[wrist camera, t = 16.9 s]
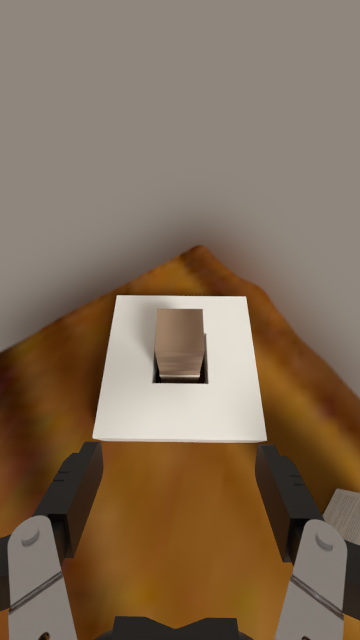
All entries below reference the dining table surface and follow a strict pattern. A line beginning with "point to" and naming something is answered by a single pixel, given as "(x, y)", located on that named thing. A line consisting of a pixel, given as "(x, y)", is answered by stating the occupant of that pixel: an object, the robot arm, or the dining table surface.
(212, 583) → the dining table surface
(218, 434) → the pocket stand
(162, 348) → the walnut leg
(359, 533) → the skincare box
